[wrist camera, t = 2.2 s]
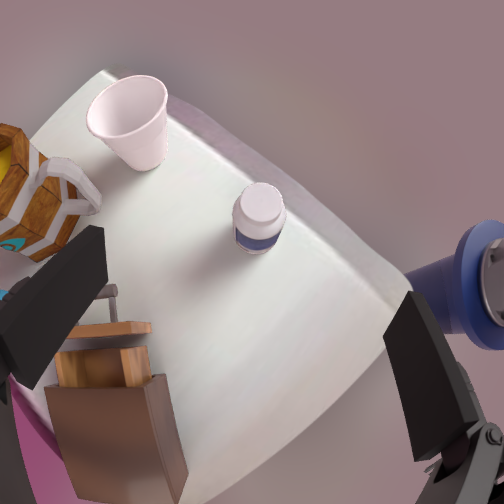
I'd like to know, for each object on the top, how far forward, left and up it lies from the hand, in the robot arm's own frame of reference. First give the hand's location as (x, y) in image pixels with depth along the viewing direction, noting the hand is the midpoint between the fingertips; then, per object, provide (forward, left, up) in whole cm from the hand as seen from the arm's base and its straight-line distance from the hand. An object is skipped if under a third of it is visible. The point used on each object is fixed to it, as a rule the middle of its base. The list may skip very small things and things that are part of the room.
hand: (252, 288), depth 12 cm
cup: (+10, -23, -23) cm, 34 cm away
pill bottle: (-3, -9, -23) cm, 25 cm away
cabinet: (+16, +13, -23) cm, 31 cm away
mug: (+24, -16, -23) cm, 37 cm away
